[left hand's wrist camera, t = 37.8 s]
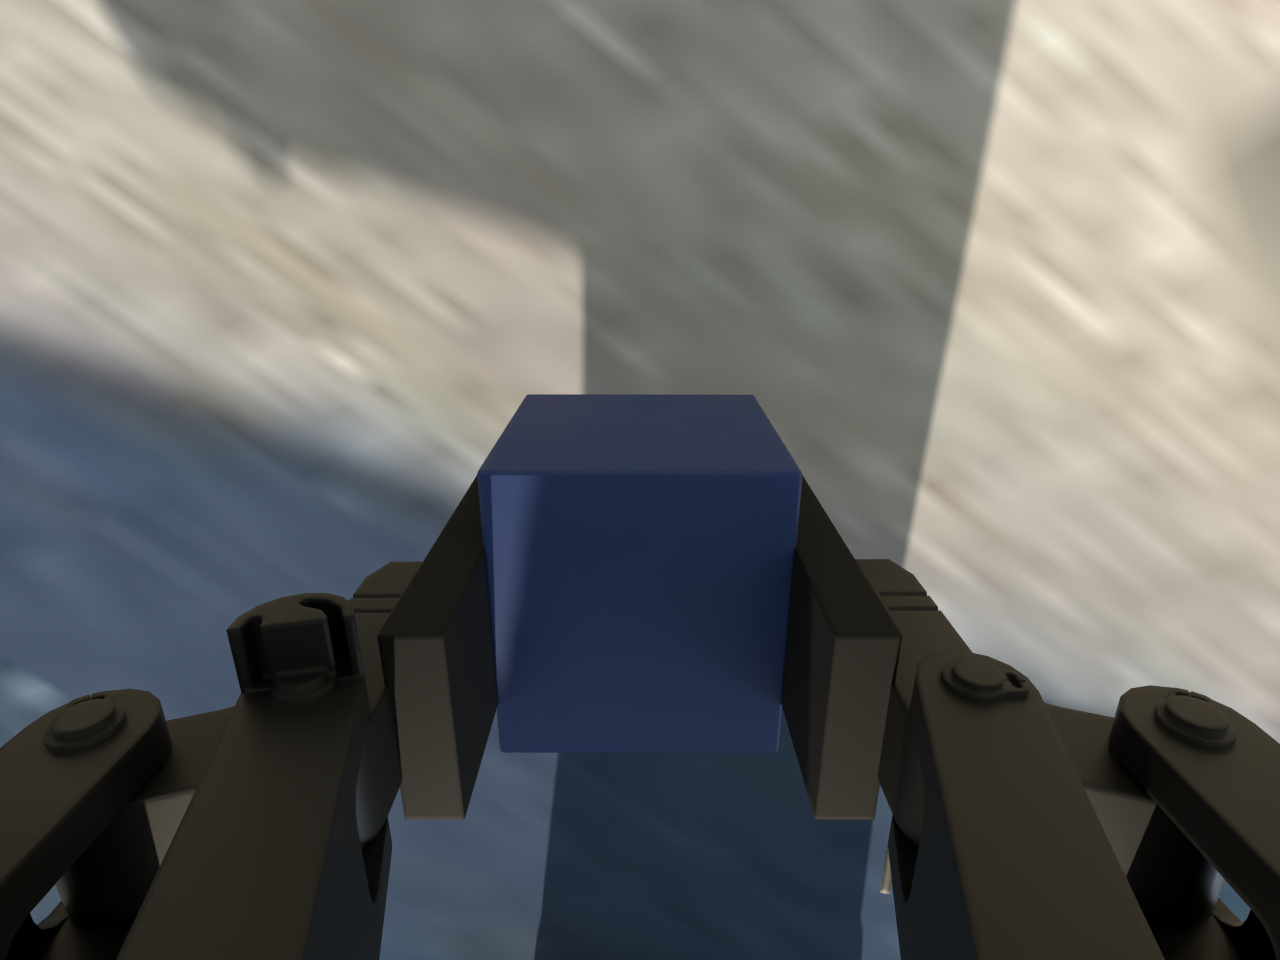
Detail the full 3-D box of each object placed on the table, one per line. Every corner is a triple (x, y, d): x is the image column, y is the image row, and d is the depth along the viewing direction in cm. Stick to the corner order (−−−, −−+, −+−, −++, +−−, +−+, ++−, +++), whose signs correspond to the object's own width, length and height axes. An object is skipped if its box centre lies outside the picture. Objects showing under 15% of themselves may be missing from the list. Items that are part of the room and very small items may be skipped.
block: (754, 394, 14) (803, 471, 10) (741, 608, 16) (779, 754, 11) (525, 393, 14) (475, 471, 10) (538, 608, 16) (499, 754, 11)
